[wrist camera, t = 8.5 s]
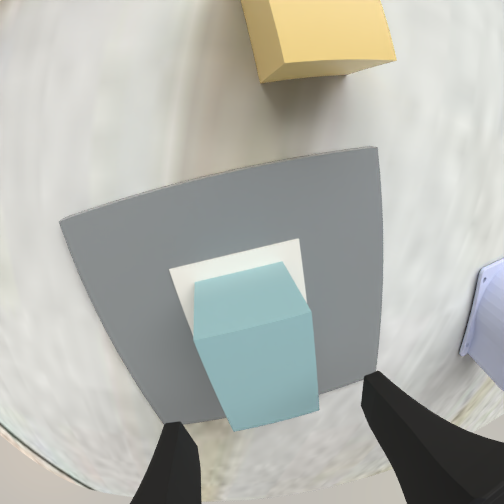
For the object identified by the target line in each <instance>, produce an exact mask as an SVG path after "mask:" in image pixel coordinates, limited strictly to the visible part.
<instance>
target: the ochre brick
mask: <svg viewBox="0 0 504 504" xmlns="http://www.w3.org/2000/svg"><path fill="white" fill-rule="evenodd" d="M241 4H242V8H243V12H244V16H245V20H246V24H247V28H248V32H249V36H250V41H251V45H252V49H253V53H254V58H255V62H256V67H257V71H258V76H259V80H260V83H266V82H273V81H281V80H289V79H298V78H308V77H320V76H335V75H348V74H351V73H354V72H358V71H361V70H364V69H368V68H371V67H375V66H378V65H382V64H385V63H389V62H393V61H397V60H396V55H395V51H394V47H393V43H392V39H391V35H390V31H389V28H388V24H387V21H386V17H385V14H384V11H383V7H382V4H381V1H380V0H241Z"/></svg>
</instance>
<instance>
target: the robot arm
mask: <svg viewBox="0 0 504 504" xmlns="http://www.w3.org/2000/svg"><path fill="white" fill-rule="evenodd" d="M459 354H460V355H461V356H464V355H466V354H469V355H470V356H471V357H472V358H473V359H474V360H475V362H476V363H477V364H478V365H479V366H480V367H481V368H482V369H483V370H484V371H485V372H486V373H487V374H488V376H489V377H490V378H491V379H492V380H493V381H494V382H495V383H496V384H497V386H498V387H499V388H500V389H501V390H503V391H504V258H503V259H501V260H498V261H496V262H494V263H492V264H490V265H488V266H486V267H484V268H482V269H481V271H480V273H479V277H478V283H477V288H476V292H475V297H474V301H473V306H472V310H471V314H470V318H469V322H468V325H467V329H466V332H465V336H464V339H463V342H462V346H461V349H460V352H459ZM361 407H362V409H363V412H364V414H365V417H366V419H367V422H368V424H369V426H370V428H371V430H372V432H373V433H374V435H375V437H376V439H377V440H378V442H379V444H380V446H381V447H382V449H383V451H384V453H385V454H386V456H387V458H388V460H389V461H390V463H391V465H392V467H393V469H394V471H395V473H396V476H397V478H398V481H399V483H400V485H401V488H402V491H403V493H404V496H405V499H406V502H407V504H504V443H503V442H499V441H495V440H492V439H488V438H485V437H482V436H480V435H477V434H474V433H472V432H469V431H467V430H464V429H462V428H460V427H458V426H456V425H454V424H452V423H450V422H448V421H446V420H445V419H443V418H441V417H439V416H438V415H436V414H435V413H433V412H431V411H430V410H428V409H427V408H425V407H424V406H422V405H421V404H420V403H418V402H417V401H416V400H414V399H413V398H411V397H410V396H409V395H407V394H406V393H405V392H404V391H402V390H401V389H400V388H399V387H397V386H396V385H395V384H394V383H393V382H391V381H390V380H389V379H388V378H387V377H386V376H384V375H383V374H382V373H381V372H380V371H376V372H373V373H371V374H368V375H365V376H364V382H363V392H362V401H361ZM130 504H201V469H200V461H199V454H198V447H197V445H196V443H195V442H194V441H193V439H192V438H191V436H190V435H189V433H188V432H187V430H186V429H185V427H184V426H183V424H182V423H181V421H178V422H170V423H165V425H164V427H163V430H162V433H161V436H160V439H159V441H158V444H157V447H156V449H155V452H154V455H153V457H152V459H151V462H150V464H149V467H148V469H147V471H146V474H145V476H144V478H143V480H142V482H141V484H140V486H139V488H138V490H137V492H136V494H135V496H134V497H133V499H132V501H131V503H130Z"/></svg>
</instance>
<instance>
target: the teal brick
mask: <svg viewBox="0 0 504 504" xmlns="http://www.w3.org/2000/svg"><path fill="white" fill-rule="evenodd" d="M193 341H194V343H195V346H196V348H197V351H198V353H199V356H200V358H201V360H202V363H203V365H204V368H205V370H206V372H207V375H208V377H209V379H210V382H211V384H212V386H213V388H214V391H215V393H216V395H217V397H218V400H219V402H220V404H221V406H222V408H223V410H224V413H225V415H226V417H227V419H228V421H229V423H230V425H231V427H232V429H233V431H239V430H244V429H249V428H254V427H258V426H263V425H267V424H271V423H275V422H279V421H283V420H287V419H291V418H294V417H298V416H302V415H305V414H308V413H312V412H315V411H318V410H319V396H318V381H317V368H316V355H315V343H314V332H313V322H312V312H311V310H310V308H309V306H308V305H307V303H306V301H305V299H304V298H303V296H302V294H301V292H300V291H299V289H298V287H297V285H296V284H295V282H294V280H293V279H292V277H291V275H290V273H289V272H288V270H287V268H286V266H285V265H284V263H283V261H281V262H277V263H273V264H269V265H265V266H261V267H256V268H252V269H248V270H244V271H240V272H236V273H231V274H227V275H223V276H219V277H215V278H210V279H206V280H202V281H198V282H195V289H194V329H193Z"/></svg>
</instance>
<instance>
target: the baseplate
mask: <svg viewBox="0 0 504 504" xmlns="http://www.w3.org/2000/svg"><path fill="white" fill-rule="evenodd" d="M59 223H60V226H61V229H62V232H63V234H64V237H65V240H66V243H67V245H68V248H69V250H70V253H71V256H72V258H73V261H74V263H75V265H76V268H77V270H78V273H79V275H80V277H81V280H82V282H83V284H84V286H85V289H86V291H87V293H88V295H89V297H90V299H91V302H92V304H93V306H94V308H95V310H96V312H97V314H98V316H99V318H100V320H101V322H102V324H103V326H104V328H105V330H106V332H107V333H108V335H109V337H110V339H111V341H112V343H113V344H114V346H115V348H116V350H117V352H118V353H119V355H120V357H121V359H122V360H123V362H124V364H125V365H126V367H127V369H128V371H129V372H130V374H131V375H132V377H133V379H134V380H135V382H136V384H137V385H138V387H139V388H140V390H141V391H142V393H143V394H144V396H145V397H146V399H147V400H148V402H149V403H150V405H151V406H152V408H153V409H154V411H155V412H156V414H157V415H158V417H159V418H160V419H161V421H162V422H163V424H164V425H165V423H170V422H178V421H181V423H182V424H190V423H197V422H204V421H210V420H216V419H221V418H227V417H226V415H225V413H224V410H223V408H222V406H221V404H220V402H219V400H218V397H217V395H216V393H215V391H214V388H213V386H212V384H211V382H210V379H209V377H208V375H207V372H206V370H205V368H204V365H203V363H202V360H201V358H200V356H199V353H198V351H197V348H196V346H195V343H194V341H193V329H194V289H195V282H198V281H202V280H206V279H210V278H215V277H219V276H223V275H227V274H231V273H236V272H240V271H244V270H248V269H252V268H256V267H261V266H265V265H269V264H273V263H277V262H281V261H283V263H284V265H285V266H286V268H287V270H288V272H289V273H290V275H291V277H292V279H293V280H294V282H295V284H296V285H297V287H298V289H299V291H300V292H301V294H302V296H303V298H304V299H305V301H306V303H307V305H308V306H309V308H310V310H311V312H312V322H313V332H314V343H315V355H316V368H317V381H318V395H319V394H322V393H325V392H328V391H332V390H335V389H338V388H340V387H343V386H346V385H349V384H352V383H355V382H357V381H360V380H363V379H364V376H365V375H368V374H371V373H373V372H376V365H377V356H378V346H379V336H380V323H381V308H382V286H383V218H382V196H381V181H380V168H379V158H378V148H377V147H373V146H369V147H361V148H354V149H346V150H339V151H332V152H326V153H319V154H313V155H307V156H301V157H295V158H290V159H284V160H279V161H273V162H268V163H263V164H258V165H253V166H248V167H244V168H239V169H234V170H230V171H225V172H221V173H217V174H212V175H208V176H204V177H200V178H196V179H192V180H188V181H184V182H180V183H176V184H172V185H169V186H165V187H161V188H158V189H154V190H150V191H147V192H143V193H140V194H136V195H133V196H130V197H126V198H123V199H120V200H116V201H113V202H110V203H107V204H104V205H101V206H98V207H95V208H91V209H88V210H85V211H83V212H80V213H77V214H74V215H71V216H68V217H65V218H63V219H62V220H60V221H59Z"/></svg>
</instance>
